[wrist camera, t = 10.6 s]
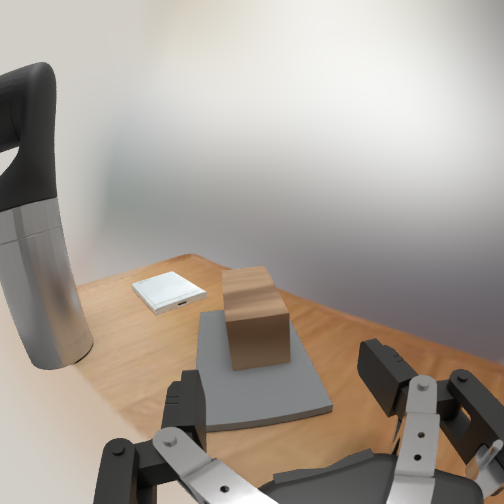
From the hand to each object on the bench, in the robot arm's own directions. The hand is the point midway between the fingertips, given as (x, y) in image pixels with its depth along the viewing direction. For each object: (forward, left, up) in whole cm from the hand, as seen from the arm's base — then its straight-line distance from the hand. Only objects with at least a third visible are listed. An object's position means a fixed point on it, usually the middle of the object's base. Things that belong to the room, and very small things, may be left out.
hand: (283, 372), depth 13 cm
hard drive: (-22, +24, -8) cm, 34 cm away
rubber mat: (-5, +11, -7) cm, 14 cm away
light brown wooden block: (-3, +8, -4) cm, 10 cm away
